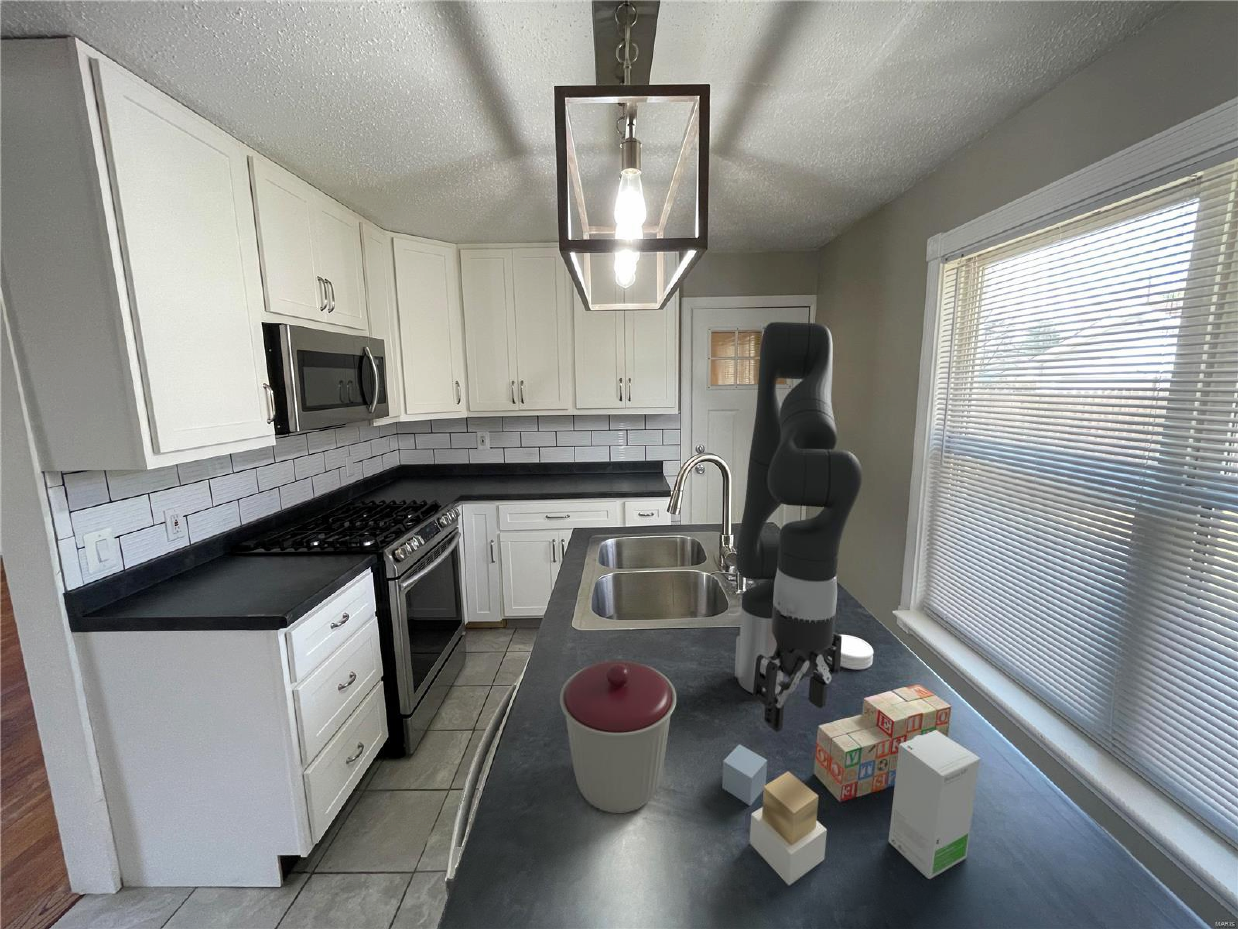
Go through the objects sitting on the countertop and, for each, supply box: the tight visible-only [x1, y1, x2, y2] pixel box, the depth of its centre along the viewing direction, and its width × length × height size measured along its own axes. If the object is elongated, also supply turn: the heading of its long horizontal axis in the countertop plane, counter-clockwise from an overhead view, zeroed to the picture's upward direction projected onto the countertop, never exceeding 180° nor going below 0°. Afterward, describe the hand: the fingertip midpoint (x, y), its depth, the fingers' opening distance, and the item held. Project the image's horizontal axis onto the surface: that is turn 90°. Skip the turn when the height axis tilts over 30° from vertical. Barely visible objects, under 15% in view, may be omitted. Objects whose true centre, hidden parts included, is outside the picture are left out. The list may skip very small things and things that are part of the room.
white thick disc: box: [828, 634, 874, 670], centre depth 117 cm, size 10×10×4 cm
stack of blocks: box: [813, 684, 952, 803], centre depth 82 cm, size 21×6×12 cm, turn 108°
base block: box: [749, 806, 828, 886], centre depth 69 cm, size 7×7×5 cm
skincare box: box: [887, 730, 981, 880], centre depth 69 cm, size 8×7×16 cm
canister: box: [559, 659, 677, 814], centre depth 79 cm, size 18×18×21 cm
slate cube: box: [721, 744, 768, 807], centre depth 80 cm, size 5×5×5 cm
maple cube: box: [762, 771, 819, 846], centre depth 68 cm, size 5×5×5 cm
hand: (795, 715), depth 67 cm, fingers open, 8 cm apart
